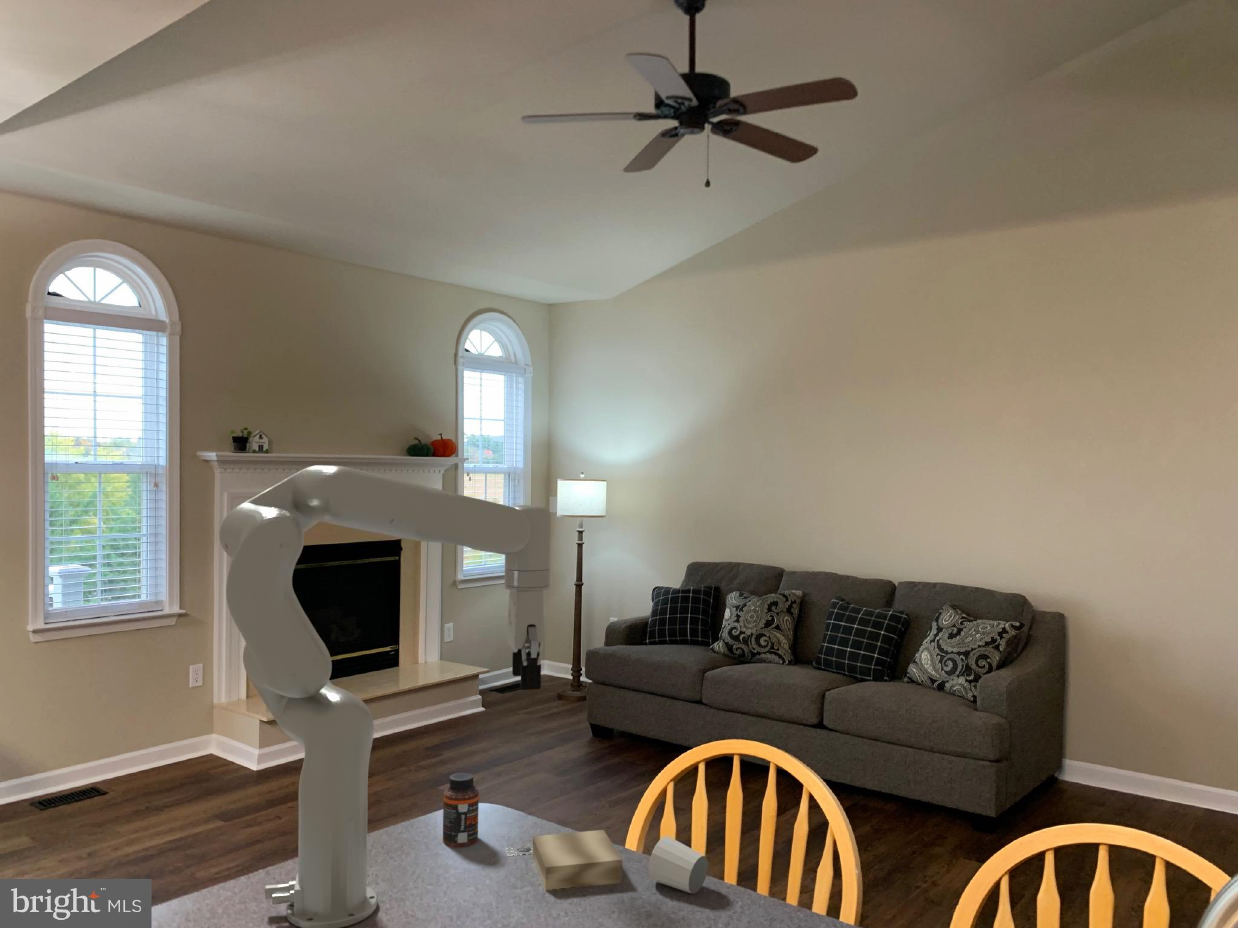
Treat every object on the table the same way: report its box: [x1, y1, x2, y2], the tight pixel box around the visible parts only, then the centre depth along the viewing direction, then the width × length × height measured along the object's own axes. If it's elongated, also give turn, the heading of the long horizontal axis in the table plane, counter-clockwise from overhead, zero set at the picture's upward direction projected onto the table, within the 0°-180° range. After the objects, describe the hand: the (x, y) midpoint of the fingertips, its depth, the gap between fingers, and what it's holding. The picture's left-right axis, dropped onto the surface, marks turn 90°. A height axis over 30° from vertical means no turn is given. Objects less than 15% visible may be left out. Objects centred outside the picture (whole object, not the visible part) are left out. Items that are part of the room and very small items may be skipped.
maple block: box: [532, 829, 623, 891], centre depth 151 cm, size 12×12×4 cm
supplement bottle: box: [442, 772, 480, 848], centre depth 161 cm, size 6×6×11 cm
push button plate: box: [505, 845, 533, 857], centre depth 157 cm, size 6×4×1 cm, turn 104°
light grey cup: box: [648, 835, 709, 894], centre depth 145 cm, size 7×7×7 cm
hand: (526, 681), depth 157 cm, fingers open, 9 cm apart
